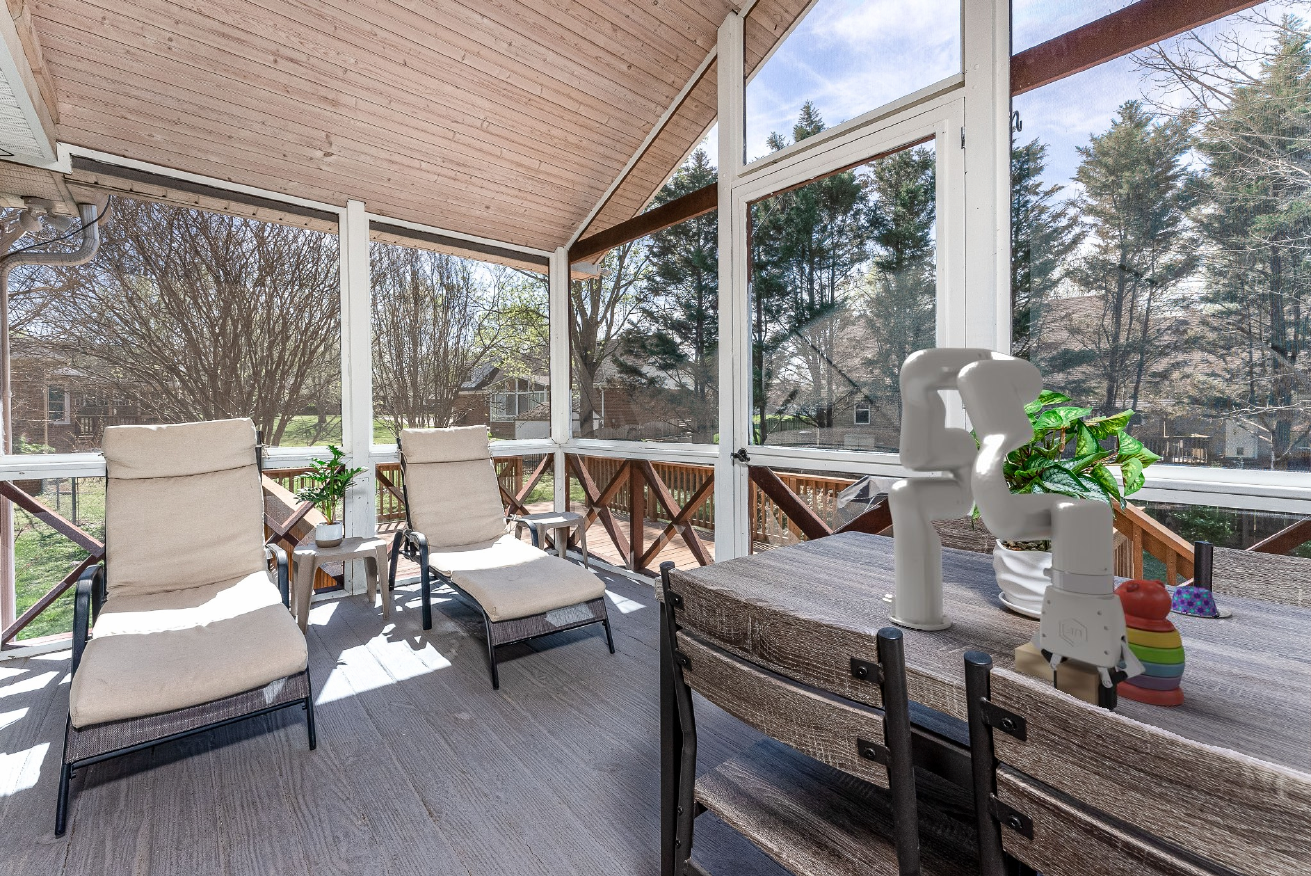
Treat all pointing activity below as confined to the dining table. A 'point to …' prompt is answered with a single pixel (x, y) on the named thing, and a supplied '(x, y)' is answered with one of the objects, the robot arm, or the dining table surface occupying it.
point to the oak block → (1032, 662)
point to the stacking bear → (1151, 644)
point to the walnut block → (1079, 680)
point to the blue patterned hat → (1195, 601)
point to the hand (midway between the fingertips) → (1084, 701)
